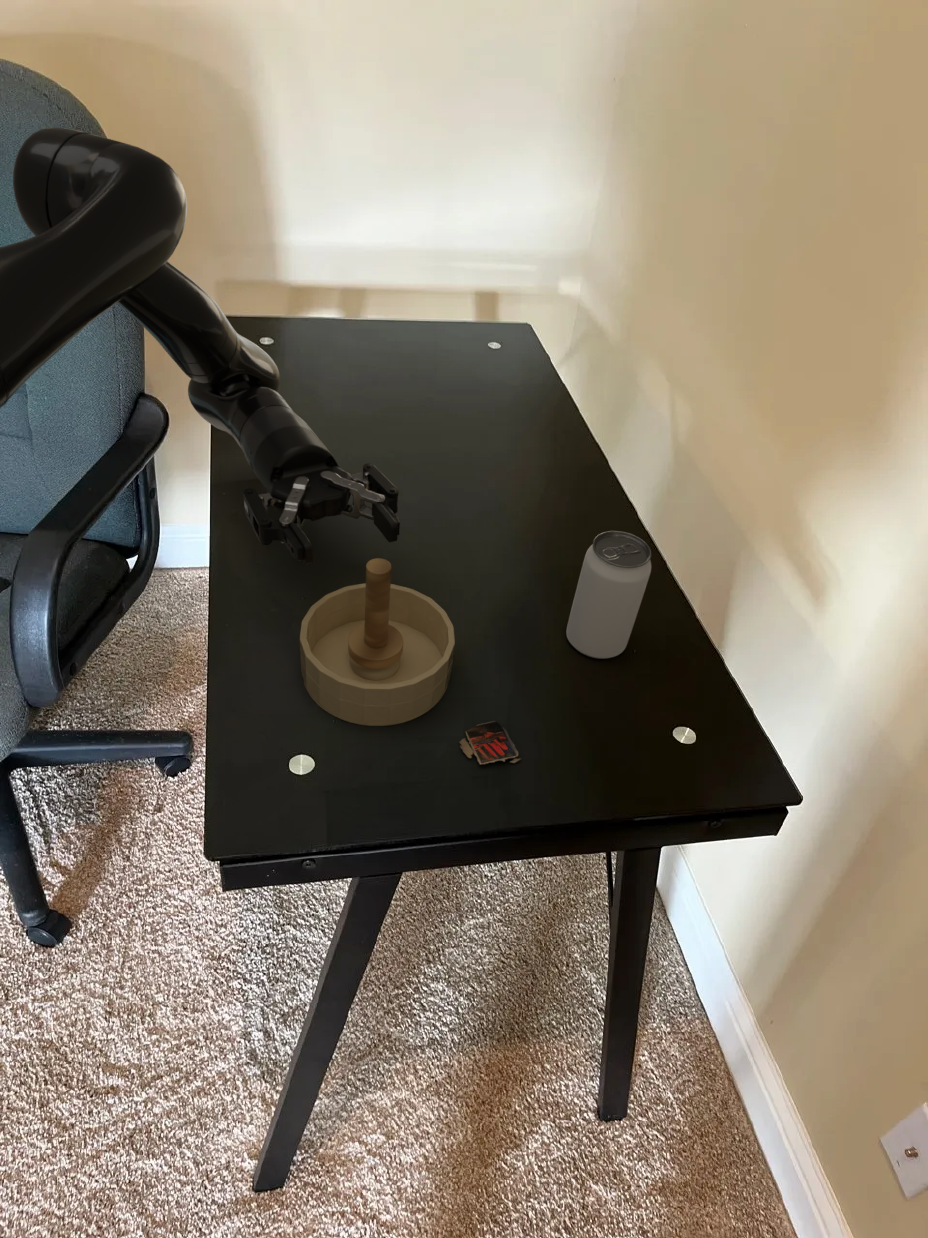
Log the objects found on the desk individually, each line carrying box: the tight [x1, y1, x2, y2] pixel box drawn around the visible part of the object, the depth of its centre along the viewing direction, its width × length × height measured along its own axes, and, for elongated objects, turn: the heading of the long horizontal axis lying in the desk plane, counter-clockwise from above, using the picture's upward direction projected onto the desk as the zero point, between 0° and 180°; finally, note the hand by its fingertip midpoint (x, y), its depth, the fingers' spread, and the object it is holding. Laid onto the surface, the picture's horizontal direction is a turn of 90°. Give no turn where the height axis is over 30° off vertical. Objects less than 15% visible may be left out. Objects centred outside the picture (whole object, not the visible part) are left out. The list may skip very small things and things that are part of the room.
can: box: [565, 530, 652, 660], centre depth 82 cm, size 6×6×12 cm
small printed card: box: [458, 720, 522, 765], centre depth 74 cm, size 5×5×1 cm
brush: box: [348, 557, 403, 680], centre depth 76 cm, size 5×5×12 cm
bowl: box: [299, 582, 456, 727], centre depth 78 cm, size 14×14×5 cm
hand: (353, 545), depth 76 cm, fingers open, 8 cm apart
